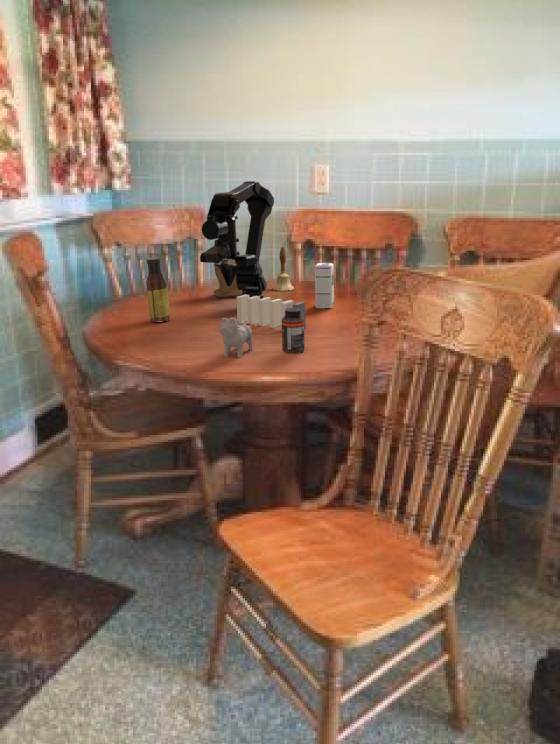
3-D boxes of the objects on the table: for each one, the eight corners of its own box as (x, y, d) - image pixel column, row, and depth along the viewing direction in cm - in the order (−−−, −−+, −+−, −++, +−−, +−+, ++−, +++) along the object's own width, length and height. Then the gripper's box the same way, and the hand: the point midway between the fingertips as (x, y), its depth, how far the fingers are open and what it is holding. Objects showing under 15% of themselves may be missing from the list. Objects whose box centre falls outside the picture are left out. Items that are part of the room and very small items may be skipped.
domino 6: (292, 331, 194) (292, 304, 192) (301, 327, 198) (300, 301, 195) (297, 331, 193) (297, 305, 191) (305, 328, 197) (305, 302, 194)
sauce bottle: (173, 319, 211) (169, 257, 205) (164, 324, 206) (159, 260, 199) (155, 318, 213) (150, 256, 207) (145, 322, 208) (140, 259, 201)
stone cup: (215, 300, 237) (212, 258, 232) (212, 294, 248) (210, 254, 244) (256, 298, 239) (255, 256, 235) (252, 292, 251) (251, 252, 246)
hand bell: (271, 287, 258) (270, 246, 253) (292, 286, 259) (292, 245, 254) (273, 291, 250) (272, 249, 245) (295, 290, 251) (294, 248, 246)
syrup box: (332, 308, 221) (332, 265, 216) (314, 308, 222) (314, 265, 218) (334, 305, 226) (334, 262, 222) (317, 304, 227) (317, 262, 223)
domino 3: (258, 325, 201) (258, 299, 199) (267, 322, 205) (266, 297, 202) (263, 326, 200) (262, 300, 198) (271, 323, 204) (271, 297, 201)
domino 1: (237, 322, 206) (236, 296, 204) (246, 319, 209) (245, 294, 207) (241, 322, 205) (240, 297, 203) (250, 319, 209) (249, 294, 206)
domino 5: (281, 329, 197) (280, 302, 194) (289, 326, 200) (289, 300, 198) (285, 329, 196) (285, 303, 193) (294, 326, 199) (293, 300, 197)
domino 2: (248, 323, 204) (247, 298, 201) (256, 320, 207) (256, 295, 205) (252, 324, 203) (251, 298, 200) (260, 321, 206) (260, 296, 204)
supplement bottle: (281, 348, 177) (280, 307, 174) (303, 347, 178) (302, 306, 174) (283, 354, 172) (282, 312, 168) (305, 353, 172) (305, 311, 169)
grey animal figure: (216, 360, 169) (213, 319, 165) (237, 346, 180) (235, 308, 176) (234, 362, 167) (232, 321, 163) (255, 348, 178) (253, 309, 174)
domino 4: (270, 327, 199) (269, 301, 197) (278, 324, 202) (278, 298, 200) (274, 328, 198) (273, 301, 196) (282, 325, 202) (282, 299, 199)
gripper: (186, 237, 201) (189, 287, 206) (233, 240, 191) (235, 293, 196) (210, 233, 210) (213, 281, 215) (257, 236, 199) (258, 287, 204)
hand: (229, 286), depth 207 cm, fingers closed
